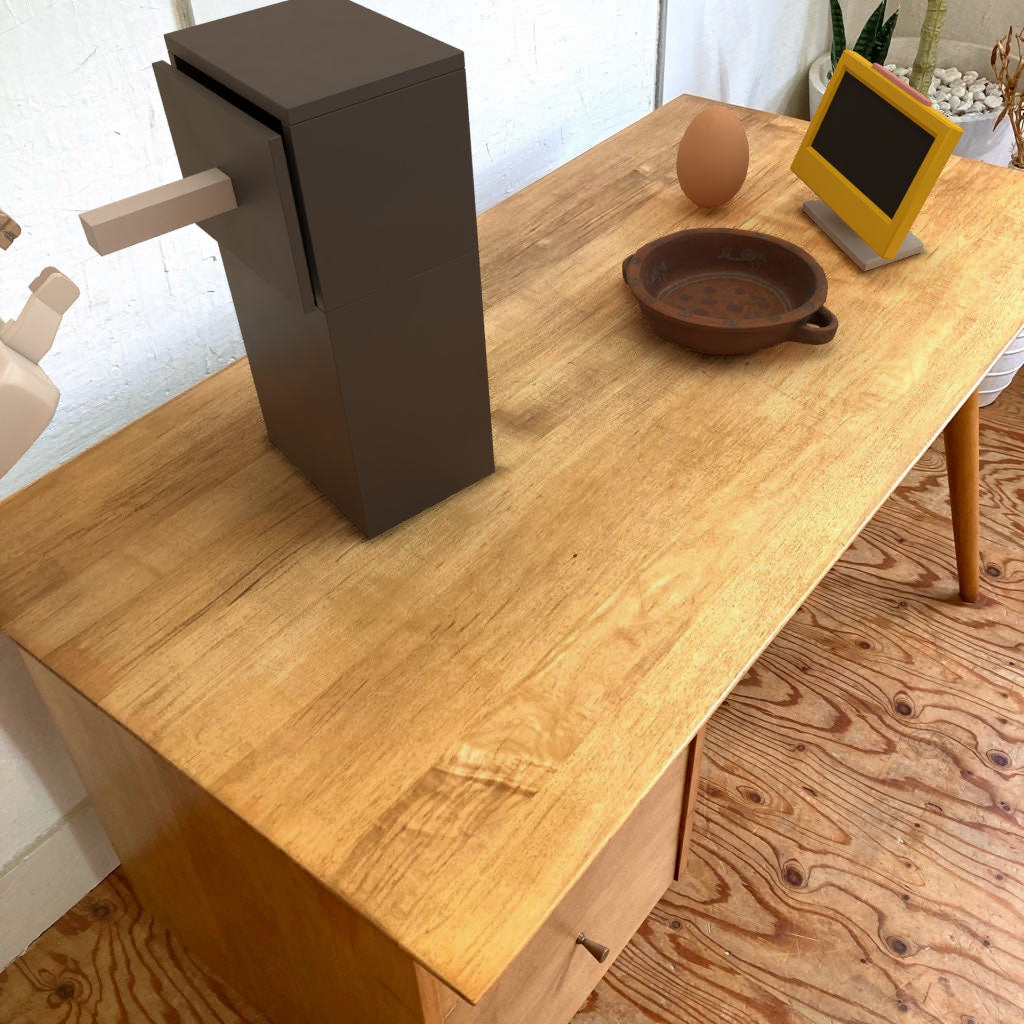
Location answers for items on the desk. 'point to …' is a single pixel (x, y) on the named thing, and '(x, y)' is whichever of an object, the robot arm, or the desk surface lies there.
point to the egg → (713, 158)
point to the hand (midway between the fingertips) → (36, 245)
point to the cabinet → (364, 254)
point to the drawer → (219, 187)
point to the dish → (730, 291)
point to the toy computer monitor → (872, 161)
